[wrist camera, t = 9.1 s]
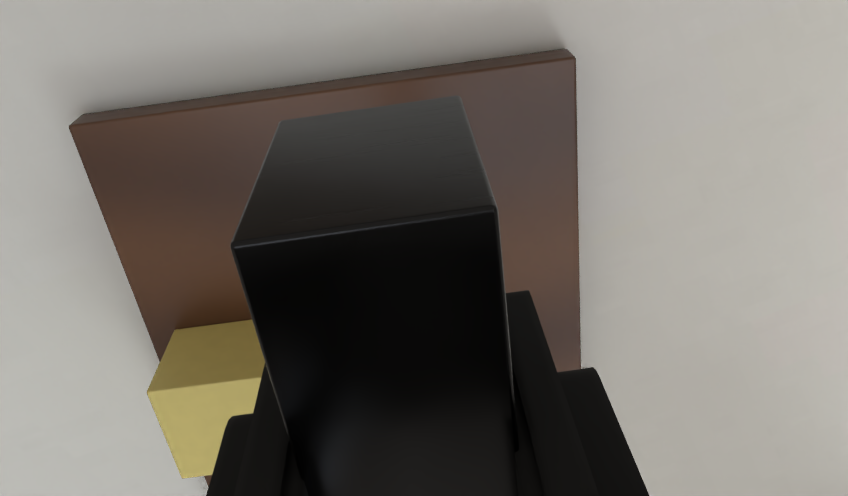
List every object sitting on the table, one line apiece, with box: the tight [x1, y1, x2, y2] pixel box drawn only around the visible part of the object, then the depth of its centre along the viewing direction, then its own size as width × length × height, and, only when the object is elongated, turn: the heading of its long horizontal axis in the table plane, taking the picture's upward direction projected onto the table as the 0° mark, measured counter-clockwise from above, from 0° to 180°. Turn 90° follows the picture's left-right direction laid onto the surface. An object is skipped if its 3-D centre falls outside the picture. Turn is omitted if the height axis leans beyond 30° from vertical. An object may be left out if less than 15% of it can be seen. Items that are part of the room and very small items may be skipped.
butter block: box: [147, 320, 265, 478], centre depth 25 cm, size 4×6×4 cm, turn 97°
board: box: [69, 49, 581, 487], centre depth 27 cm, size 20×16×1 cm
